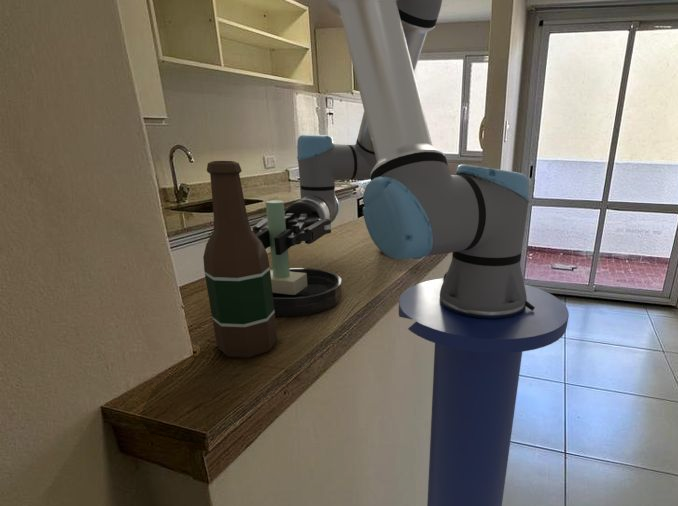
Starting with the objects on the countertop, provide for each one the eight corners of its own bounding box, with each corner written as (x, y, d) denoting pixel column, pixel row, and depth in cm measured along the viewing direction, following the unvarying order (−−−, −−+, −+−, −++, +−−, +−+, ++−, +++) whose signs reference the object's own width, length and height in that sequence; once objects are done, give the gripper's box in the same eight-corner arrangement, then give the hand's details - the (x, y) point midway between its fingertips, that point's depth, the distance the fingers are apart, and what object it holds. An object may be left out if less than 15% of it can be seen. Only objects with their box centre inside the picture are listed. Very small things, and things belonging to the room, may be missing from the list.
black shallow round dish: (354, 288, 84) (354, 272, 82) (319, 322, 69) (318, 303, 68) (275, 280, 87) (273, 264, 85) (225, 311, 72) (222, 292, 71)
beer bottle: (289, 340, 63) (272, 161, 54) (249, 364, 57) (222, 165, 47) (247, 329, 66) (224, 158, 57) (204, 351, 59) (170, 161, 50)
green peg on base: (307, 285, 80) (301, 200, 74) (294, 295, 76) (287, 205, 70) (271, 282, 81) (263, 198, 76) (257, 291, 77) (246, 202, 71)
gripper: (346, 237, 93) (318, 271, 71) (270, 234, 93) (219, 267, 72) (344, 200, 90) (315, 224, 68) (266, 197, 90) (212, 220, 69)
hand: (266, 246), depth 70 cm, fingers closed on green peg on base, 3 cm apart
